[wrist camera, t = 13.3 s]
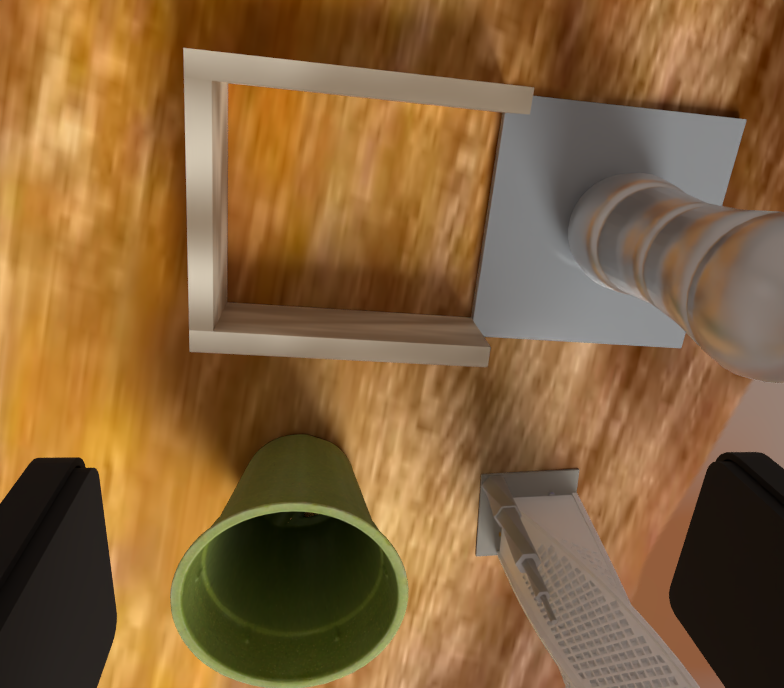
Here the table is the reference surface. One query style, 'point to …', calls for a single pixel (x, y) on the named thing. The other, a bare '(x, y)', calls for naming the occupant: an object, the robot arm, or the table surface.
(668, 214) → the plastic bottle
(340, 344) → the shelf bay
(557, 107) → the tile
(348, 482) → the plant pot
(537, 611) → the skyscraper
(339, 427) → the table surface
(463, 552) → the table surface
